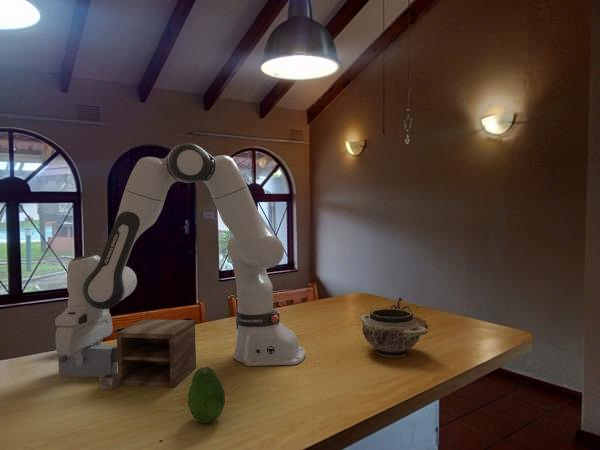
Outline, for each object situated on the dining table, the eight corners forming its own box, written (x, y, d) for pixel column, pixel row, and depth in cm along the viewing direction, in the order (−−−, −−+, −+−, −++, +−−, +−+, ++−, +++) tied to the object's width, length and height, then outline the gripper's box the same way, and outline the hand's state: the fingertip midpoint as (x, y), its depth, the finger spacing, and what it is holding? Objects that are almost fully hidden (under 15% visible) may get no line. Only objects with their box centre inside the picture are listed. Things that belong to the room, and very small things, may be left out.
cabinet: (196, 367, 126) (194, 320, 126) (169, 393, 109) (167, 338, 109) (135, 365, 129) (133, 318, 129) (99, 389, 112) (97, 336, 112)
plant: (433, 325, 168) (433, 296, 168) (416, 338, 152) (415, 306, 152) (385, 318, 180) (384, 291, 179) (364, 329, 164) (364, 300, 163)
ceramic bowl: (437, 368, 130) (444, 318, 132) (397, 366, 120) (406, 312, 122) (378, 347, 150) (385, 304, 152) (340, 344, 140) (348, 298, 142)
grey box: (55, 377, 122) (54, 349, 121) (66, 371, 126) (65, 344, 125) (120, 379, 119) (119, 351, 118) (128, 373, 123) (128, 346, 123)
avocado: (181, 426, 92) (179, 371, 92) (202, 410, 100) (200, 359, 99) (213, 433, 89) (212, 376, 89) (232, 415, 97) (231, 362, 96)
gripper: (98, 303, 133) (99, 348, 134) (50, 321, 113) (52, 373, 113) (117, 304, 132) (118, 348, 133) (71, 321, 112) (74, 374, 112)
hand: (87, 360), depth 123 cm, fingers open, 5 cm apart
